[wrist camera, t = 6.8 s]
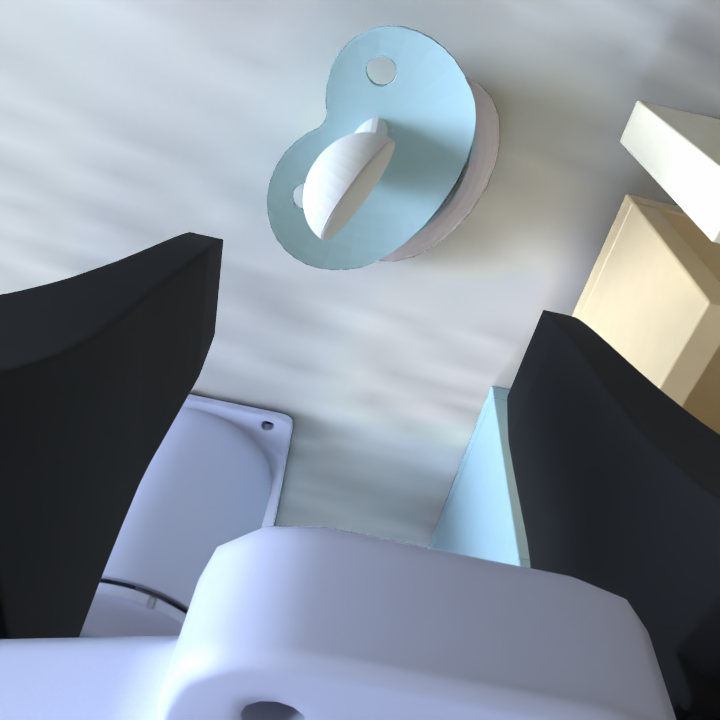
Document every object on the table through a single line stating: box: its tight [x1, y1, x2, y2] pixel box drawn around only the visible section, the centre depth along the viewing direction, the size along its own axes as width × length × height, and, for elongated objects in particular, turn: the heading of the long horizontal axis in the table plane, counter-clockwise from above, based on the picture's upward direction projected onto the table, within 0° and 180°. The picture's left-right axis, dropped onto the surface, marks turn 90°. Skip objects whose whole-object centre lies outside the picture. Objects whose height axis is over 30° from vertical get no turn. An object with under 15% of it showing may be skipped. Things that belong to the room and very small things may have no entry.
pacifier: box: [267, 26, 500, 270], centre depth 18 cm, size 7×6×6 cm
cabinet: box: [428, 386, 530, 568], centre depth 26 cm, size 17×13×9 cm
